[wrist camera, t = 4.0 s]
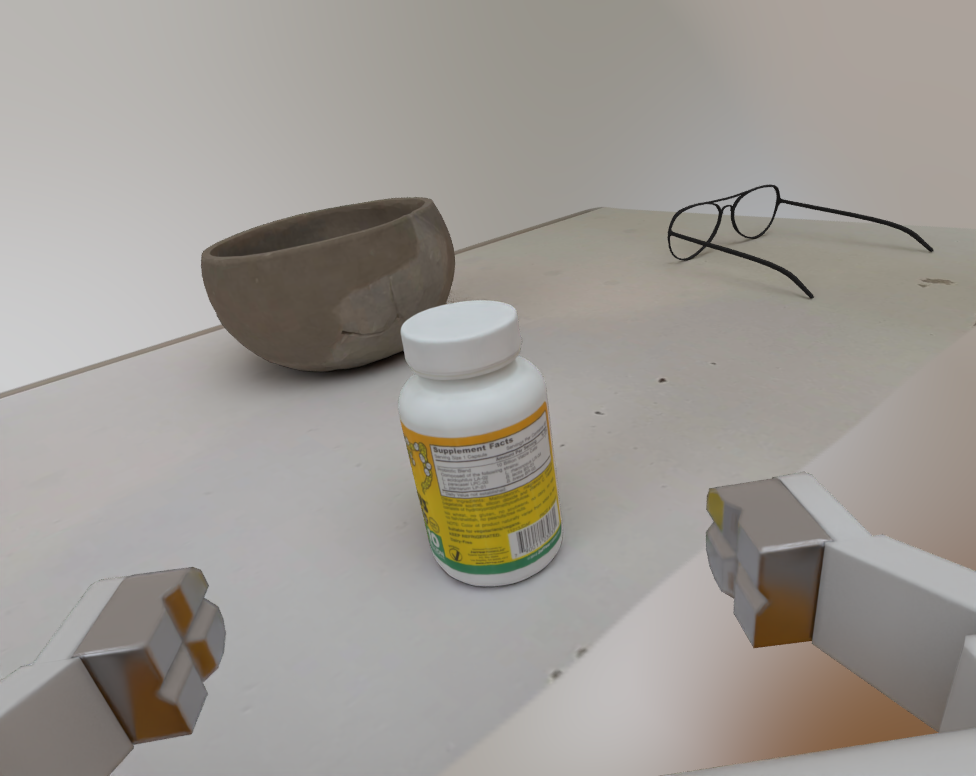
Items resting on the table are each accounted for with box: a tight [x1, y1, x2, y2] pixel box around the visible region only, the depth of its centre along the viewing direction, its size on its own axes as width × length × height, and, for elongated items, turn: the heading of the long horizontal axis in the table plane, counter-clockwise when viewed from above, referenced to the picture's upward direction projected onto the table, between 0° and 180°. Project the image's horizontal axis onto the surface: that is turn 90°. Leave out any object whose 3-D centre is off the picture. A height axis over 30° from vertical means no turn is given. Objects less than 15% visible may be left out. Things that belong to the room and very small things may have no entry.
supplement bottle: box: [398, 300, 563, 586], centre depth 22 cm, size 5×5×10 cm
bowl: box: [201, 197, 455, 372], centre depth 46 cm, size 17×18×10 cm
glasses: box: [668, 185, 933, 298], centre depth 51 cm, size 14×15×5 cm
